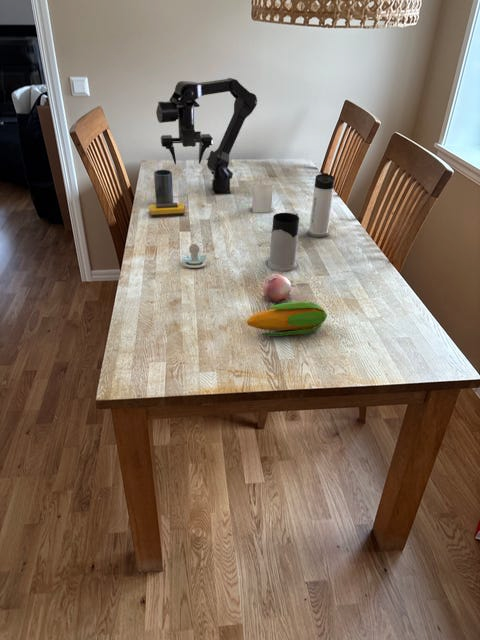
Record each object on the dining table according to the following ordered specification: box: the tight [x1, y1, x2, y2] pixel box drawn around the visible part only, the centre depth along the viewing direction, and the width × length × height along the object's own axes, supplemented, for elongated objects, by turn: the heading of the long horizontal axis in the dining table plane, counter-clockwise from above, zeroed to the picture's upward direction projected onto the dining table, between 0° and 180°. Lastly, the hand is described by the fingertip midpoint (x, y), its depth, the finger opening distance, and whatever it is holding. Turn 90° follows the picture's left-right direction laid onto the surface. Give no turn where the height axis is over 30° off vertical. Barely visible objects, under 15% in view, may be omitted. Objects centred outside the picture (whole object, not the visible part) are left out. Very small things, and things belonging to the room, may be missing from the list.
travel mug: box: [308, 172, 336, 238], centre depth 163 cm, size 6×7×20 cm
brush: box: [149, 202, 186, 218], centre depth 178 cm, size 12×6×4 cm, turn 103°
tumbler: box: [153, 169, 174, 204], centre depth 183 cm, size 6×6×12 cm
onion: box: [262, 273, 292, 304], centre depth 132 cm, size 8×8×7 cm
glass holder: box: [267, 211, 300, 272], centre depth 148 cm, size 9×14×15 cm, turn 155°
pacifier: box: [181, 243, 207, 269], centre depth 146 cm, size 7×6×6 cm
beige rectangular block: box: [251, 183, 273, 213], centre depth 182 cm, size 4×7×10 cm, turn 93°
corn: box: [246, 301, 328, 337], centre depth 119 cm, size 7×8×20 cm
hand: (187, 163), depth 187 cm, fingers open, 9 cm apart
